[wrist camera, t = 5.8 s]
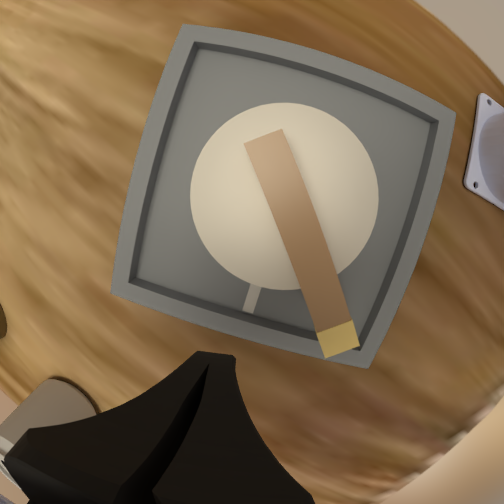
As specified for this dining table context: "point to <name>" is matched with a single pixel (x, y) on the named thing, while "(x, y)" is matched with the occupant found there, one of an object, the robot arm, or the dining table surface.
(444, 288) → the dining table surface
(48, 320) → the dining table surface
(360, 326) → the slate tray
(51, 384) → the can
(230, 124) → the dial
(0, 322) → the cork
